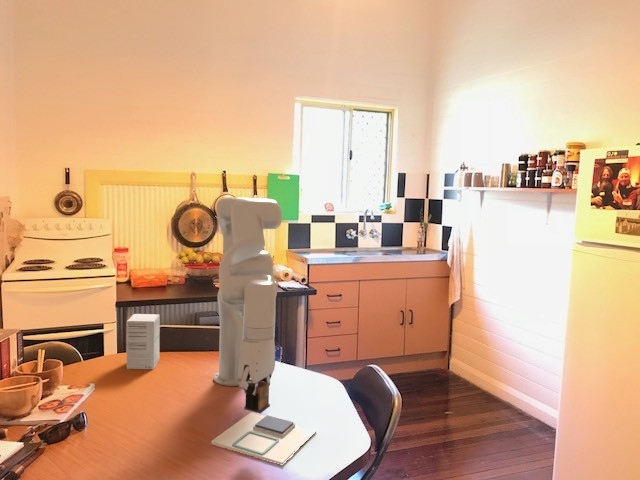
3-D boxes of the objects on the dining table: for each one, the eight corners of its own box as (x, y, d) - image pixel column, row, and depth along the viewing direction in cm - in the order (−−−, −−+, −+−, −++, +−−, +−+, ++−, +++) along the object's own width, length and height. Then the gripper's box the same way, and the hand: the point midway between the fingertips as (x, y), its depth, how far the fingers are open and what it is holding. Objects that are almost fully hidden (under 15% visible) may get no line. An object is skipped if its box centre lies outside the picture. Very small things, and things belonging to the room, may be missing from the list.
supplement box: (133, 359, 178) (133, 313, 176) (159, 359, 179) (160, 313, 178) (125, 369, 169) (125, 320, 167) (154, 369, 170) (154, 321, 168)
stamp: (254, 402, 125) (254, 379, 124) (269, 406, 123) (270, 382, 122) (244, 409, 121) (244, 385, 120) (260, 413, 119) (260, 389, 118)
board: (251, 415, 139) (251, 408, 139) (316, 432, 131) (316, 425, 131) (211, 444, 123) (211, 436, 123) (282, 466, 115) (282, 457, 115)
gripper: (263, 321, 129) (261, 390, 131) (225, 338, 114) (223, 415, 116) (289, 326, 126) (287, 396, 128) (253, 343, 111) (251, 423, 113)
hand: (257, 404), depth 122 cm, fingers closed on stamp, 4 cm apart
